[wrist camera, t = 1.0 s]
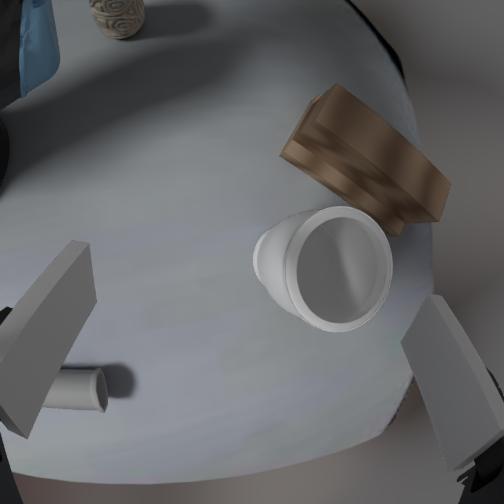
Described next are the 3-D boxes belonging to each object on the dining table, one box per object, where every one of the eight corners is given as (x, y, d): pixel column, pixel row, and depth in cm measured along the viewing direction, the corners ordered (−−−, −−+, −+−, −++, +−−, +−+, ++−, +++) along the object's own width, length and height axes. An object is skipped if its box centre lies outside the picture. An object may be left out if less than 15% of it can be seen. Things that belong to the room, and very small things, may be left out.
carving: (111, 8, 32) (101, -46, 21) (154, 18, 34) (154, -39, 22) (88, 38, 32) (69, -15, 20) (132, 49, 34) (123, -7, 22)
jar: (226, 247, 38) (258, 253, 23) (294, 201, 40) (358, 182, 25) (274, 317, 40) (327, 358, 25) (336, 270, 41) (410, 284, 27)
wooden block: (279, 155, 39) (307, 134, 30) (311, 100, 40) (342, 72, 31) (391, 235, 43) (434, 235, 35) (413, 180, 44) (454, 171, 35)
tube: (-40, 401, 26) (105, 419, 31) (-56, 374, 24) (93, 390, 29) (-28, 379, 31) (110, 390, 36) (-42, 352, 29) (100, 360, 34)
